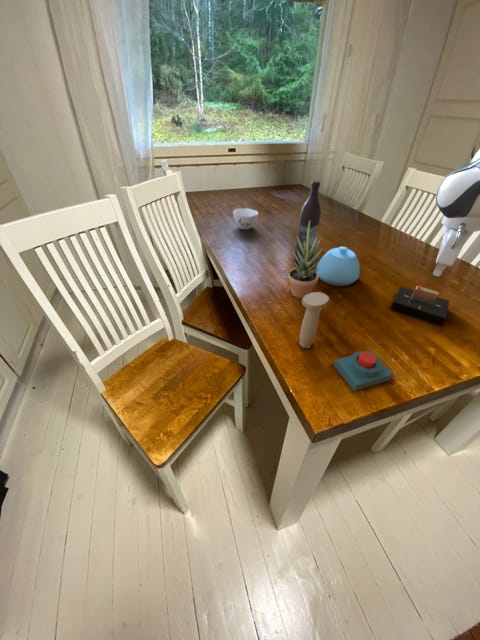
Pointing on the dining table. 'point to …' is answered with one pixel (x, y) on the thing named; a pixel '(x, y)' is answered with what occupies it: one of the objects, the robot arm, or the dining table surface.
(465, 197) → the robot arm
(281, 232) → the dining table surface
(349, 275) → the sugar bowl
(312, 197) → the wine bottle
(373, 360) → the red button
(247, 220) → the teacup
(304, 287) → the potted plant
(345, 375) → the button block
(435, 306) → the rod panel
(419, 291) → the turn handle
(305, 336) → the handle
